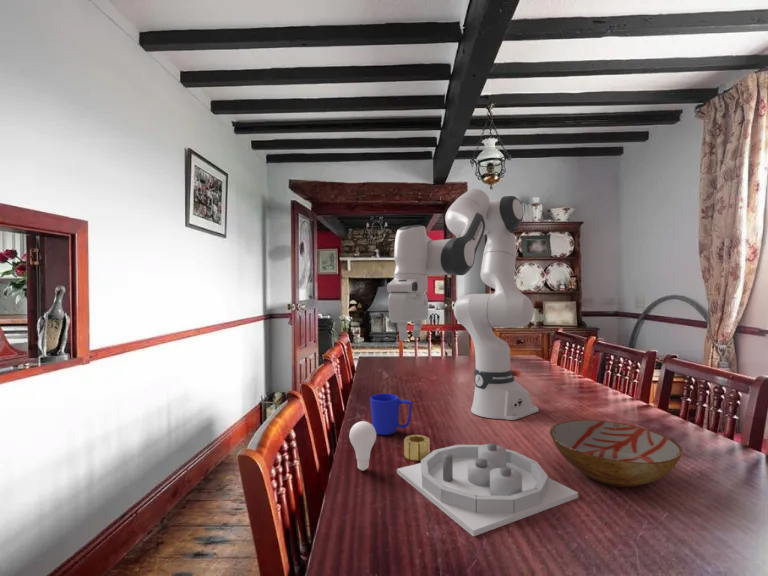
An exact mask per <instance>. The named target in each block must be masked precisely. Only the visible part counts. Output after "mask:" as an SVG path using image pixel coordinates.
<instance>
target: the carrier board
mask: <svg viewBox="0 0 768 576" xmlns="http://www.w3.org/2000/svg"><path fill="white" fill-rule="evenodd" d="M396 474H397V475H398V476H400V478H402V479H404V481H406V482H407V483H408V484H409V485H411V486H412V487H413V488H414V489H416V491H418V492H419V493H420V494H421V495H423V497H424V498H426V499H427V500H429V501H430V502H431V503H432V504H433V505H435V506H436V507H437V508H438V509H440V510H441V511H442V512H443V513H444V514H445V515H447V517H449V518H450V519H452V521H454V522H455V523H456V524H457V525H459V526H460V527H461V528H463V530H465V531H466V532H467V533H468V534H470V535H471V536H472V537H477V536H479V535H482V534H484V533H487V532H489V531H492V530H494V529H497V528H501V527H503V526H505V525H508V524H511V523H514V522H516V521H519V520H521V519H524V518H527V517H531V516H533V515H536V514H538V513H541V512H543V511H547V510H548V509H552V508H554V507H557V506H560V505H563V504H565V503H568V502H570V501H573V500H576V499H579V492H578V491H576V490H574V489H572V488H570V487H568V486H566V485H564V484H562V483H560V482H558V481H556V480H554V479H552V478H551V477H549V476H548V474H547V473H546V472H545V471H544V469H543V468H542V466H541V465H540V464H539V462H538V461H536V460H534V459H533V458H531V457H528V456H526V455H524V454H521V453H520V452H517V451H515V450H513V449H512V450H511V449H507V448H505V447H504V446H501V445H498V444H496V443H493V442H489V443H485V444H454V445H450V446H446V447H442V448H438V449H433V450H432V451H430V454H428V455H427V456H426V457H425V458H423V459H422V460H421V461H420V462H419V463H415V464H411V465H407V466H401V467H400V468H397V469H396Z"/></svg>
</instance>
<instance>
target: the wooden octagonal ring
mask: <svg viewBox="0 0 768 576" xmlns="http://www.w3.org/2000/svg"><path fill="white" fill-rule="evenodd" d="M430 453H431V439H430V437H428V436H426V435H422V434H410V435H407V436H405V438H404V439H403V454H404V455H403V456H404V457H405V458H406V459H407V460H410V461H417V462H418V461H420V462H421V460H422V459H423V458H425V457H426V456H427V455H428V454H430Z"/></svg>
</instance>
